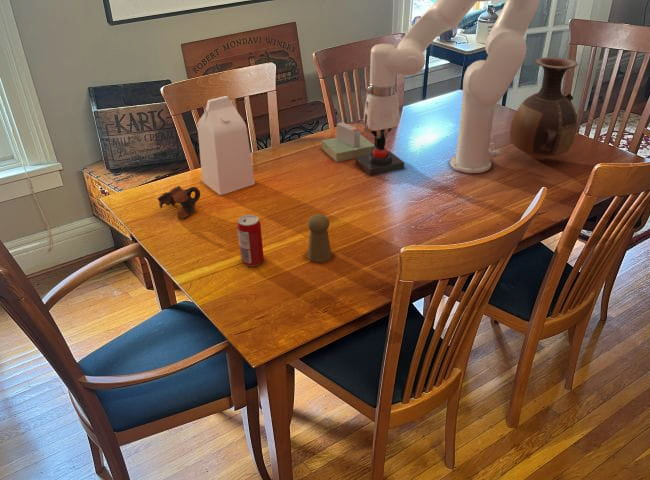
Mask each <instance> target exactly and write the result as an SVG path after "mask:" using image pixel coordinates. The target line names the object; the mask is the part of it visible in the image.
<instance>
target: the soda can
mask: <svg viewBox="0 0 650 480" xmlns="http://www.w3.org/2000/svg"><path fill="white" fill-rule="evenodd" d="M236 227H237V236H238V244H239V251H240V261H241V263H242V264H244V265H245V266H248V267H255V266H256V267H257V266H259V265H260V264H262V263H263V262H264V260H265V257H264V256H265V255H264V246H263V237H262V226H261V222H260V220H259V217H258V216H257V215H256V214H244V215H242V216H240V217H239V218H238V219H237V226H236Z"/></svg>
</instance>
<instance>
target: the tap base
mask: <svg viewBox="0 0 650 480" xmlns="http://www.w3.org/2000/svg"><path fill="white" fill-rule="evenodd" d="M321 149H322V150H323V152H325V153H326V154H327V155H328V156H329V157H330V158H331V159H332V160H334V161H335V162H336V163H339V162H343V161H348V160H353V159H356V158H357V157H362V156H367V155H369V153H370V152H371V151H373V150H374V149H376V148H375V146H374V143H372V142H371V141H370V140H369V139H367V138H366V137H365V136H364V135H362V134H361V133H360V146H358V147H355V148H354V147H352V146H349V145H347V144H345V143H343V142H341V141H338V140H337V137H333V138H328V139H321Z"/></svg>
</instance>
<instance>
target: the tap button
mask: <svg viewBox="0 0 650 480" xmlns="http://www.w3.org/2000/svg"><path fill="white" fill-rule="evenodd" d="M387 151H388V149H386V148H385V147H384V150H380V151H379V150H378V149H377V148H375V149H374V150H373V156H374V157H376V158H384V157H387Z"/></svg>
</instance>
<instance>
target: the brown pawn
mask: <svg viewBox="0 0 650 480" xmlns="http://www.w3.org/2000/svg"><path fill="white" fill-rule="evenodd" d="M307 226H308V227H307V228H308V229H309V239H308V250H307V258H308V260H309V261H311V262H314V263H325V262H328V261H330V260H331V259H332V250H331V243H330V238H329V232H328V229H329V227H330V220H329V218H328V217H327V216H326V215H324V214H320V213H319V214H313V215H311V216H310V217H309V218H308V221H307Z"/></svg>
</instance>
